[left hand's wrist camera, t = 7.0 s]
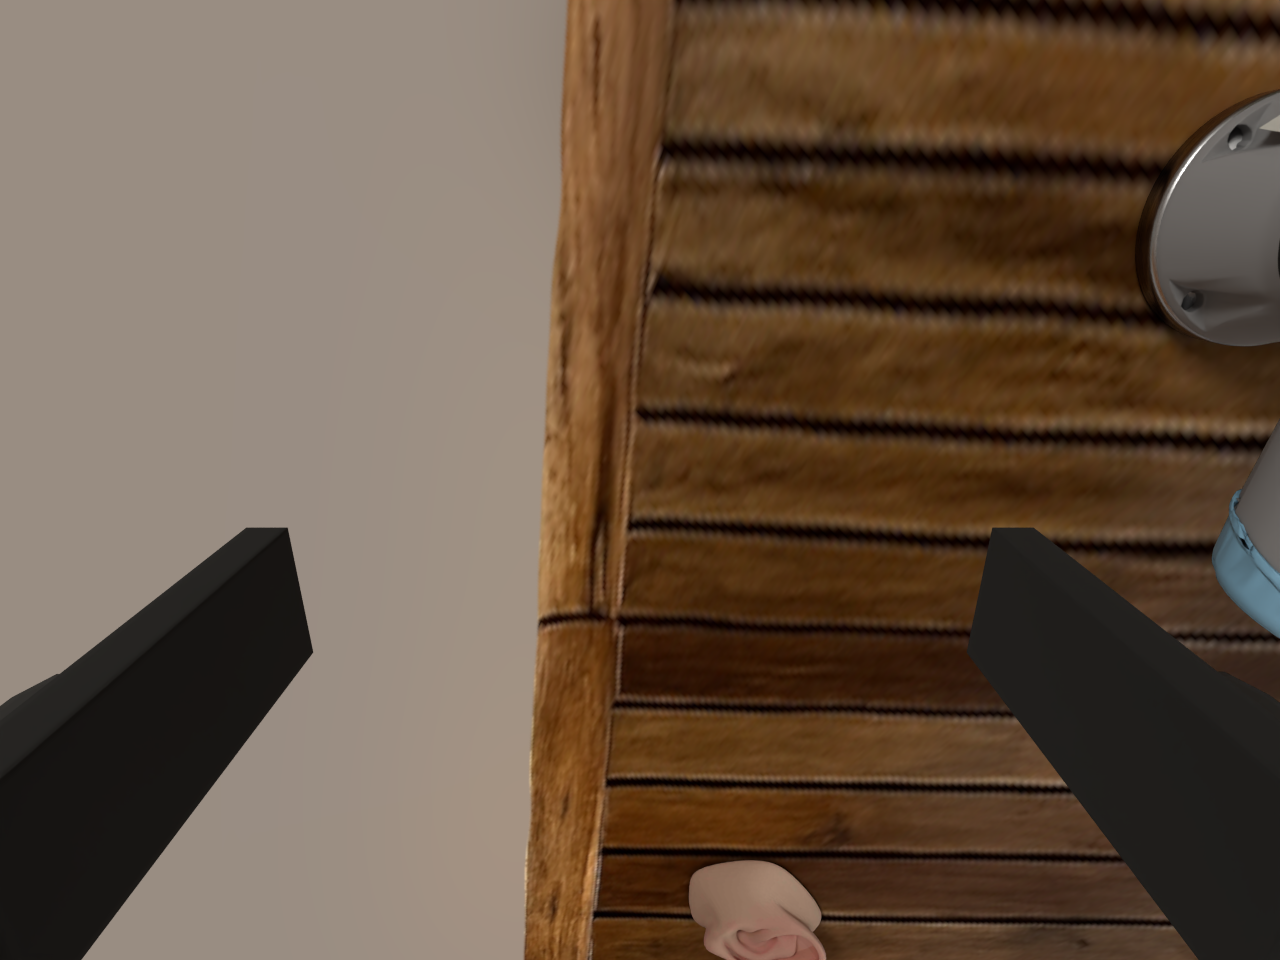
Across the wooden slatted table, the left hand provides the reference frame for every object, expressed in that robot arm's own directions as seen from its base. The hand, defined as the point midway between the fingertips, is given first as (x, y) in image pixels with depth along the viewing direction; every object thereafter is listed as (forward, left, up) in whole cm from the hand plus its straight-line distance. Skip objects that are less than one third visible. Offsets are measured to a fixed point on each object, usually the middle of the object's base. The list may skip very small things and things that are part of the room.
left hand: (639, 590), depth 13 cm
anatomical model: (-11, +56, -36) cm, 67 cm away
